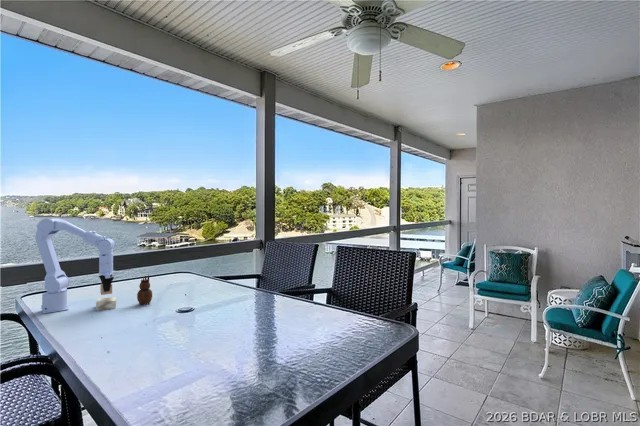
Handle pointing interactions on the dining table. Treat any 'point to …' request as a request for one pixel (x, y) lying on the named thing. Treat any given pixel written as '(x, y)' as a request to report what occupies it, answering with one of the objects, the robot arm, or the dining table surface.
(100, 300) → the birch block
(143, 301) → the wooden figurine
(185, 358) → the dining table surface
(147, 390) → the dining table surface
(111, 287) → the terracotta cube
